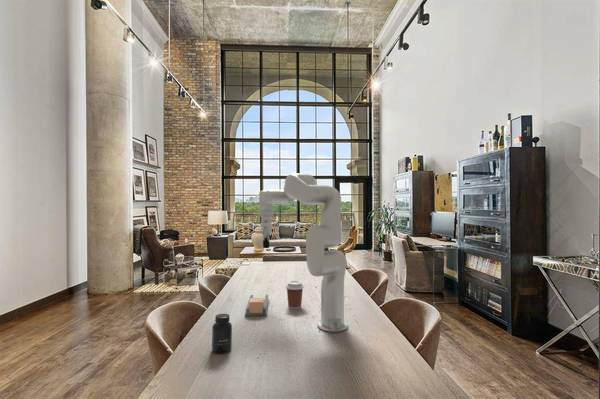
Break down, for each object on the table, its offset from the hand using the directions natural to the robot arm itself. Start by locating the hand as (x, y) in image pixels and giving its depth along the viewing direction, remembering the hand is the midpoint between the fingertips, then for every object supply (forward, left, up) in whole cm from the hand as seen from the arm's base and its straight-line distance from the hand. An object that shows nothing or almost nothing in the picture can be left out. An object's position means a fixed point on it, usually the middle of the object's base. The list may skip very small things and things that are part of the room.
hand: (266, 247), depth 177 cm
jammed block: (-24, +3, -26) cm, 35 cm away
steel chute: (-16, +3, -27) cm, 32 cm away
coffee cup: (-14, -15, -27) cm, 34 cm away
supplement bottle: (-60, +12, -27) cm, 67 cm away
